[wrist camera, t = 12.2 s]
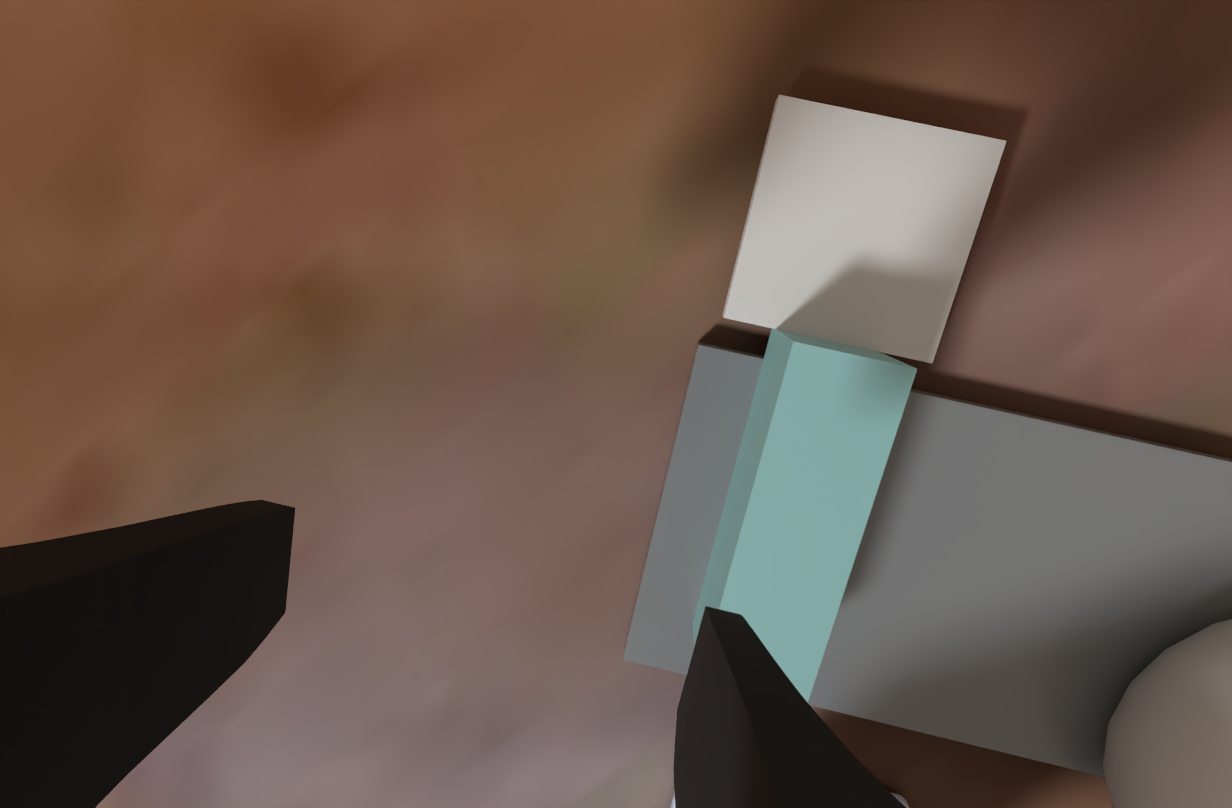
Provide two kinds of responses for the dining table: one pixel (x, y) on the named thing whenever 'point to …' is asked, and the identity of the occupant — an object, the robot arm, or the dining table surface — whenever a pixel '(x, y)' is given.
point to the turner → (834, 350)
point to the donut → (1176, 728)
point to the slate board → (970, 567)
